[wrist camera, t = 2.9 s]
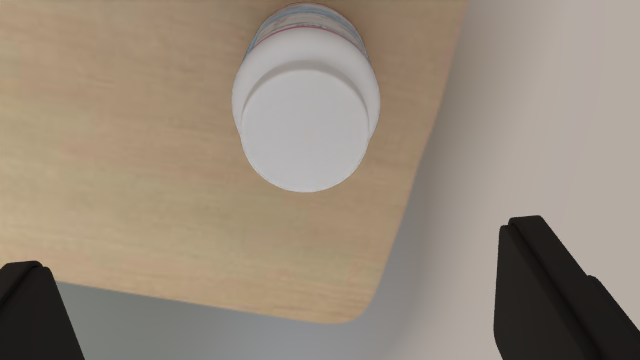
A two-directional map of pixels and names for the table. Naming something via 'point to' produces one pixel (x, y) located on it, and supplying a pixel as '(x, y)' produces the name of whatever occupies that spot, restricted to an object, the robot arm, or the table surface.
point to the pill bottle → (305, 98)
